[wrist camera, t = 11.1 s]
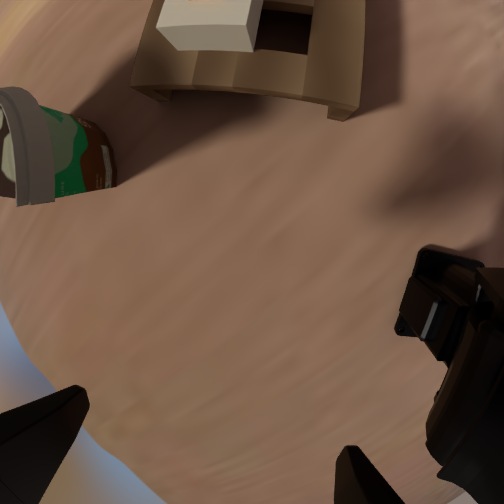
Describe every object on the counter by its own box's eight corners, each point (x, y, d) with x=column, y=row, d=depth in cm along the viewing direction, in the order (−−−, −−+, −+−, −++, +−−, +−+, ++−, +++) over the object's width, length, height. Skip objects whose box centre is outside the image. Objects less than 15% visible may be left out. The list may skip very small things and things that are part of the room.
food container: (147, 101, 17) (46, 58, 7) (133, 189, 18) (23, 208, 9) (33, 110, 17) (-54, 102, 8) (24, 178, 19) (-64, 192, 9)
